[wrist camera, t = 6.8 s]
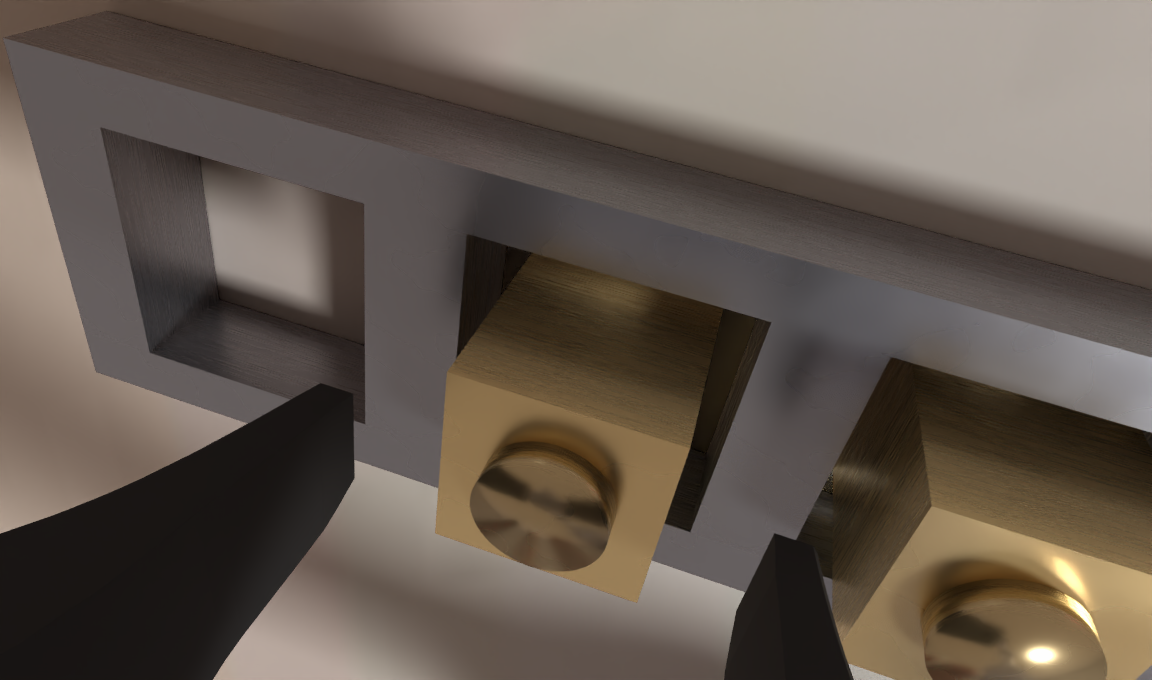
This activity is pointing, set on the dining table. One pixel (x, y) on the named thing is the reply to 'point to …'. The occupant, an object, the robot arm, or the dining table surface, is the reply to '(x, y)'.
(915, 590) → the gold knobbed block
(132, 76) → the rack rail
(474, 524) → the knobbed gold cube
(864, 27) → the dining table surface
